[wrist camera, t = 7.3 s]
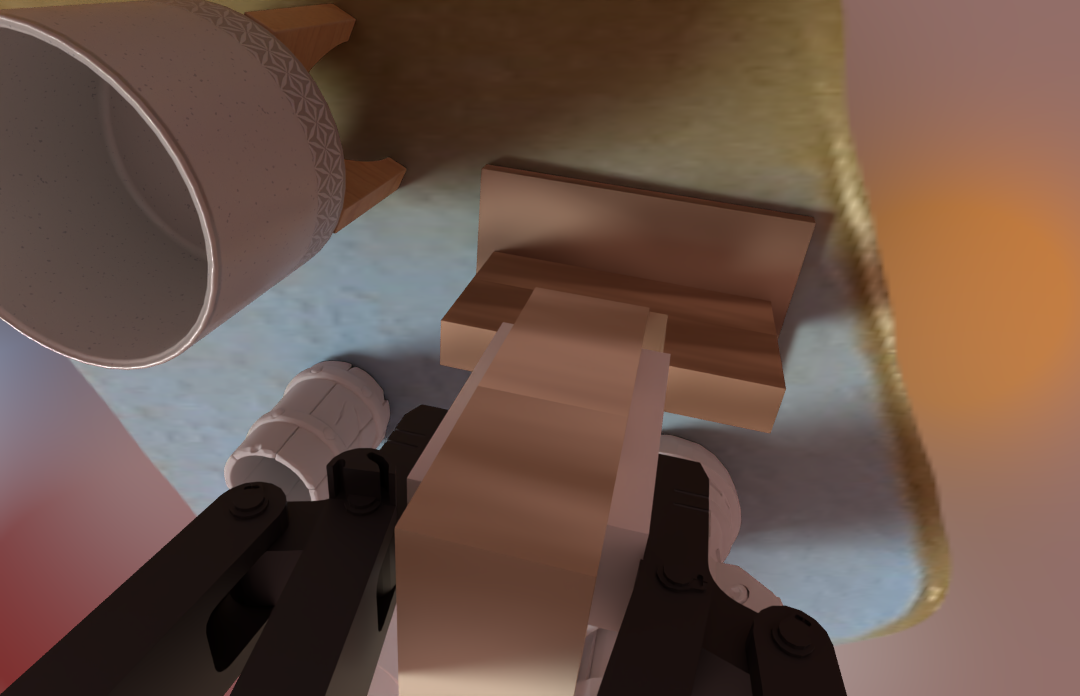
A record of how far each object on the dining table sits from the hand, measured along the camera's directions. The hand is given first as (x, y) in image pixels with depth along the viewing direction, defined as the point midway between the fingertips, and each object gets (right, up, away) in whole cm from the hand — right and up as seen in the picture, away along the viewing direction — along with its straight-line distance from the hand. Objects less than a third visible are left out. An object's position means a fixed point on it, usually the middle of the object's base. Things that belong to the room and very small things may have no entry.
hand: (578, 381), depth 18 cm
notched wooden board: (0, -4, +3) cm, 5 cm away
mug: (-15, -5, +32) cm, 35 cm away
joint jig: (+4, +5, +21) cm, 22 cm away
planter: (-15, +14, +21) cm, 29 cm away
